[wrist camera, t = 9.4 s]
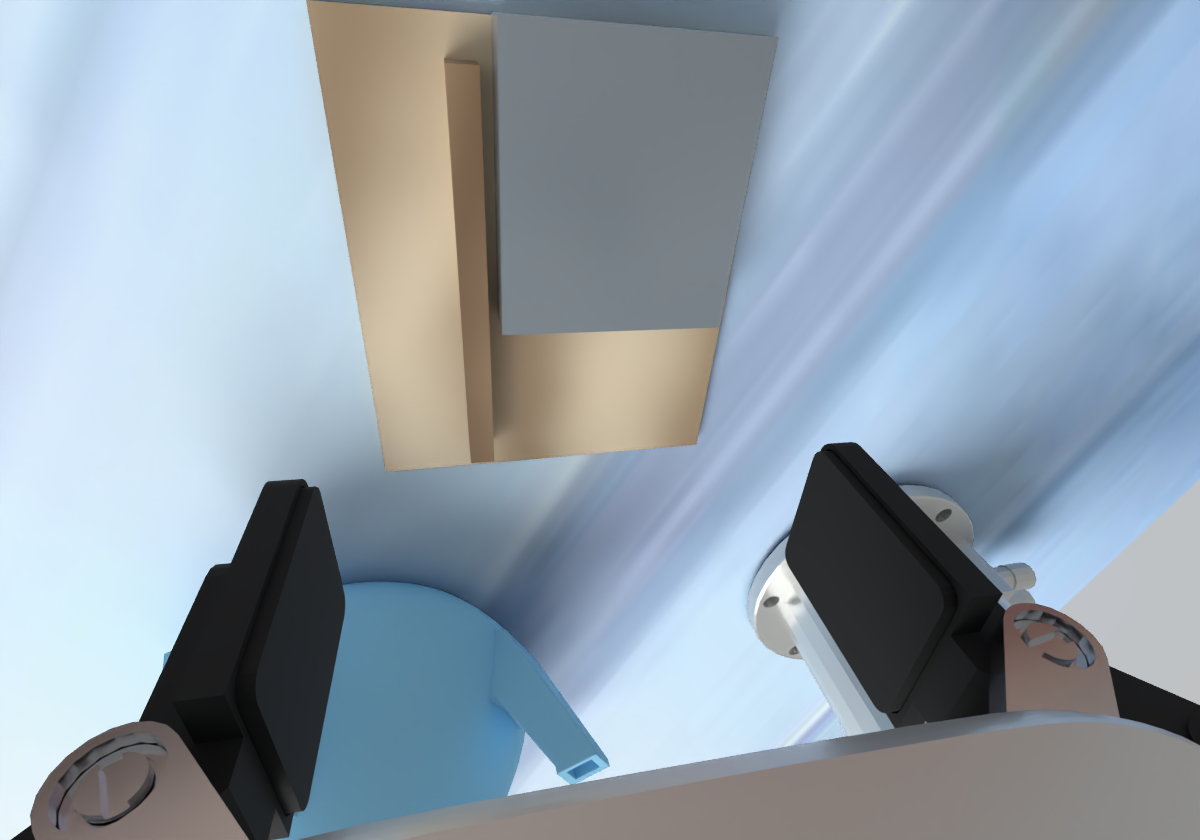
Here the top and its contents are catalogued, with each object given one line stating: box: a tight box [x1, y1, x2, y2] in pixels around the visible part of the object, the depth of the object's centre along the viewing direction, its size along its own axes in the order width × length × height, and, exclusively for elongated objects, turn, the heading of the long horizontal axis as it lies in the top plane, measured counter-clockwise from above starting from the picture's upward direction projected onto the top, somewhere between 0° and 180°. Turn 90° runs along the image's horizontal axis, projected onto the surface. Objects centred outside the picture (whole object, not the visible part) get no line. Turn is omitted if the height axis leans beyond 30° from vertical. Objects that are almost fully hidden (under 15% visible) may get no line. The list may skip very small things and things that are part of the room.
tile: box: [491, 11, 778, 335], centre depth 17 cm, size 2×8×7 cm
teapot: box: [163, 581, 609, 840], centre depth 24 cm, size 15×15×11 cm
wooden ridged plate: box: [306, 0, 736, 472], centre depth 19 cm, size 12×14×2 cm
